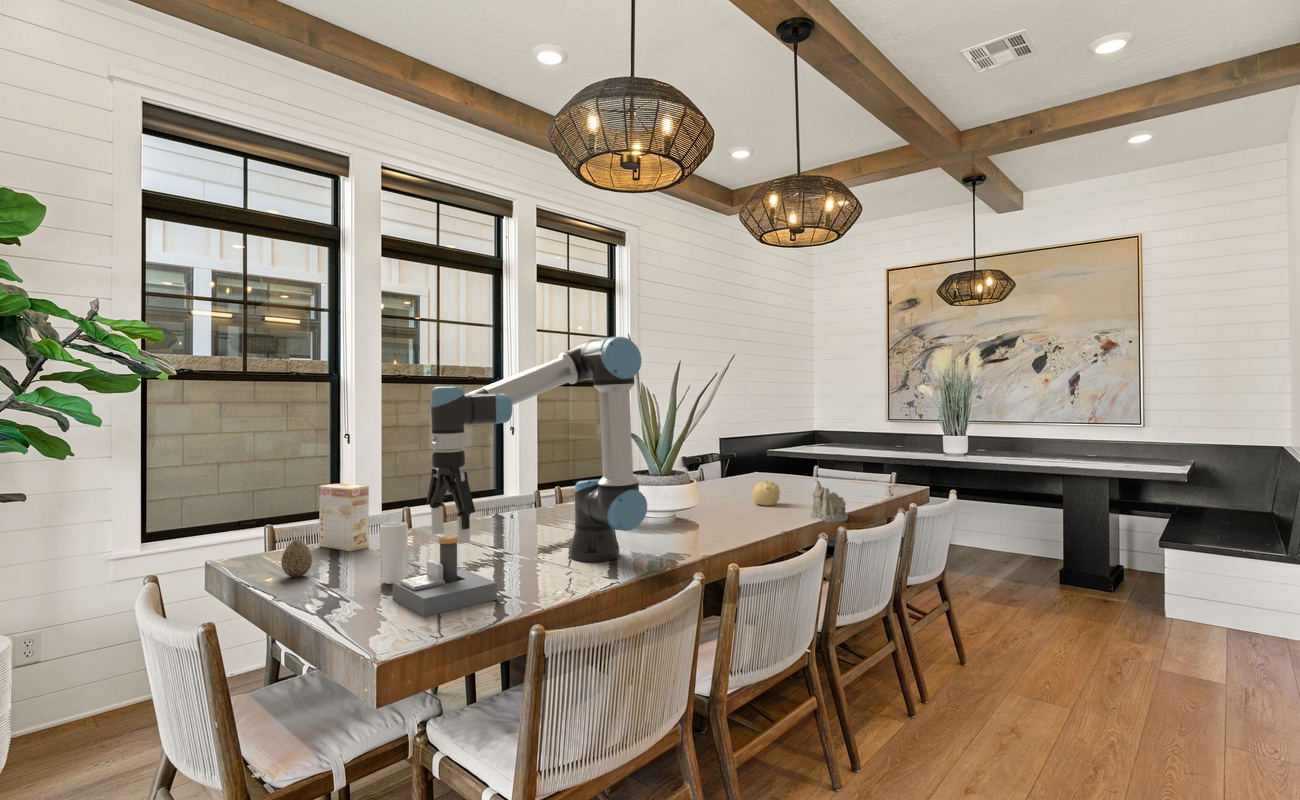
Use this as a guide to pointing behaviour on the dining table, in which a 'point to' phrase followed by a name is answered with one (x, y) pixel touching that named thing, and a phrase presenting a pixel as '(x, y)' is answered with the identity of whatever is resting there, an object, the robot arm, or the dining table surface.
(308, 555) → the decorative egg
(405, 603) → the socket block
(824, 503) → the ceramic cottage
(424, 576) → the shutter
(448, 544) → the plug
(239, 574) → the dining table surface
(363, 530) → the coffeecake box
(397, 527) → the drinking glass
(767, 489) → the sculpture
